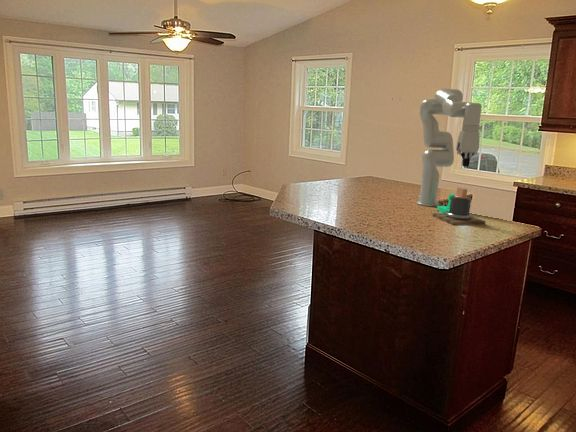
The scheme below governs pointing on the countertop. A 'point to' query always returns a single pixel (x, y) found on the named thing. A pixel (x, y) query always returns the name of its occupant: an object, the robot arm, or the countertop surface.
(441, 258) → the countertop surface
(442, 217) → the mount board
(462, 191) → the tan knob
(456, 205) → the black hollow cylinder
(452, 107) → the robot arm
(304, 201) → the countertop surface
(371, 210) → the countertop surface
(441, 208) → the camera mount
